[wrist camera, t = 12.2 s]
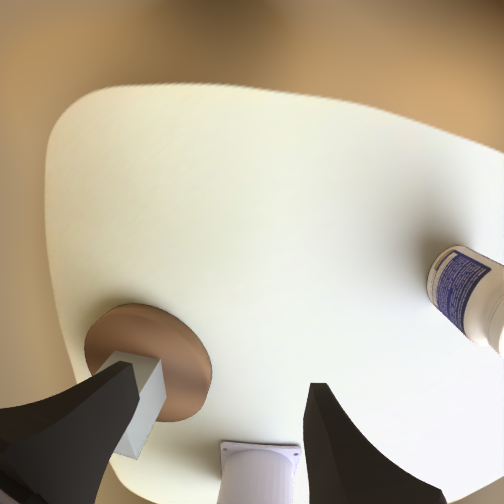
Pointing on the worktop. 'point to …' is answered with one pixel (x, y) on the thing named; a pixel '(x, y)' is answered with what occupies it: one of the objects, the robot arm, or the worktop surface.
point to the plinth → (155, 353)
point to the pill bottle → (470, 295)
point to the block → (141, 400)
